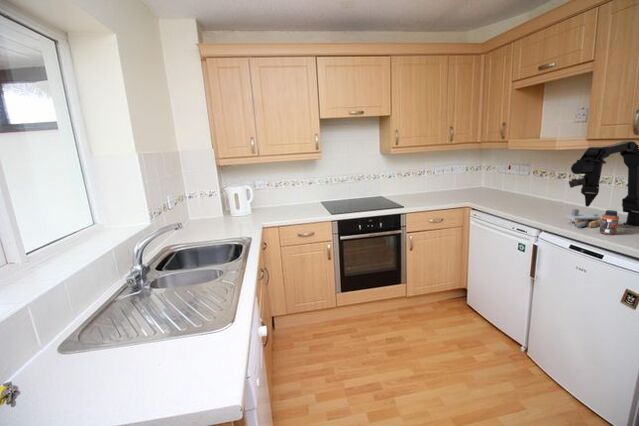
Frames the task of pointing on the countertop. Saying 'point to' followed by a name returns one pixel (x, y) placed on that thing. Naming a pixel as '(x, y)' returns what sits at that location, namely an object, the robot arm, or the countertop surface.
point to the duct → (590, 222)
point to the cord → (582, 224)
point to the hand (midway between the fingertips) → (587, 205)
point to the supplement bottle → (609, 223)
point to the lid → (579, 217)
